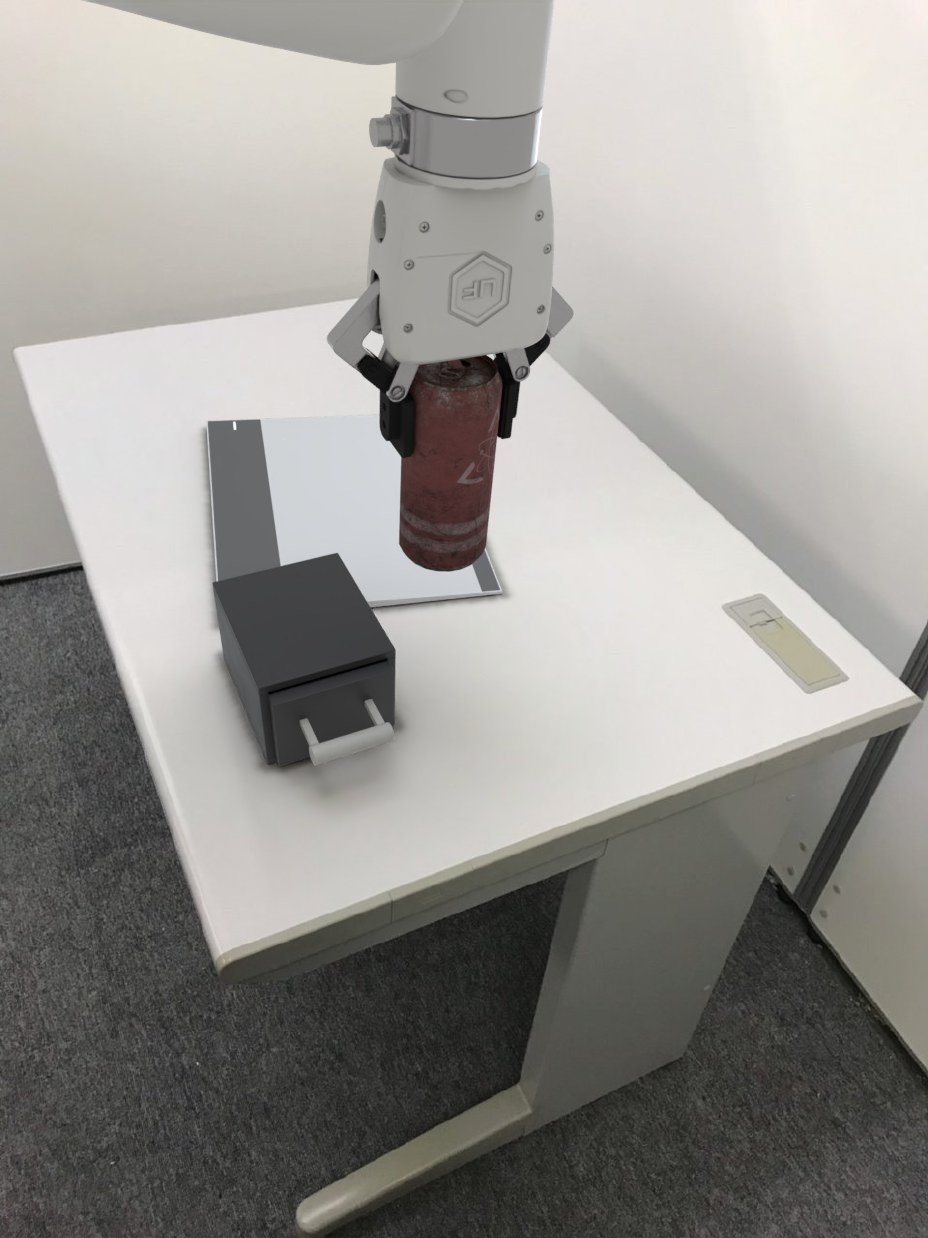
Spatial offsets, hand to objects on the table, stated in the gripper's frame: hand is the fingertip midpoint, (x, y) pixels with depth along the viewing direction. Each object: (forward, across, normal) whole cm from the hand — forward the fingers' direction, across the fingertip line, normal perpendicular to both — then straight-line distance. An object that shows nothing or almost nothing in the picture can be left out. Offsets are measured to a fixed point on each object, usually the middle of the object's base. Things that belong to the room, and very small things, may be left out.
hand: (448, 434), depth 62 cm
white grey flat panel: (+25, +2, +28) cm, 38 cm away
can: (+9, 0, 0) cm, 9 cm away
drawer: (+24, -9, +1) cm, 26 cm away
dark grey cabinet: (+25, -9, +5) cm, 27 cm away
